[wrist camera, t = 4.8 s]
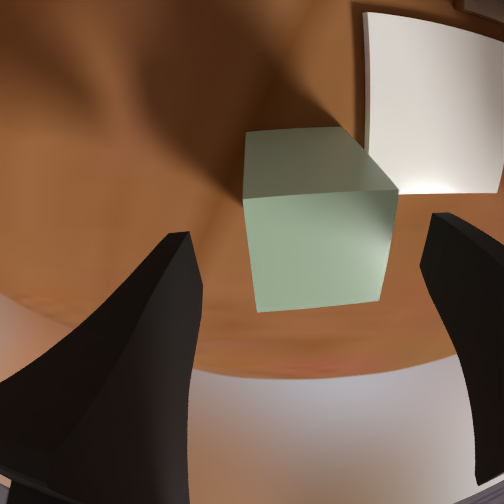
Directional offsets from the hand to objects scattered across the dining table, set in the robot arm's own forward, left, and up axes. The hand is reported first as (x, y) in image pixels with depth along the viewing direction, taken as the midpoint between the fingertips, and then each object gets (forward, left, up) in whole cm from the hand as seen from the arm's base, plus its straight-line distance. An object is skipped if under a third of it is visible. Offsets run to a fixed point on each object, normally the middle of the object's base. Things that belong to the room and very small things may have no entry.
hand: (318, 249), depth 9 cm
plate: (-7, -3, -6) cm, 9 cm away
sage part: (0, 0, -6) cm, 6 cm away
